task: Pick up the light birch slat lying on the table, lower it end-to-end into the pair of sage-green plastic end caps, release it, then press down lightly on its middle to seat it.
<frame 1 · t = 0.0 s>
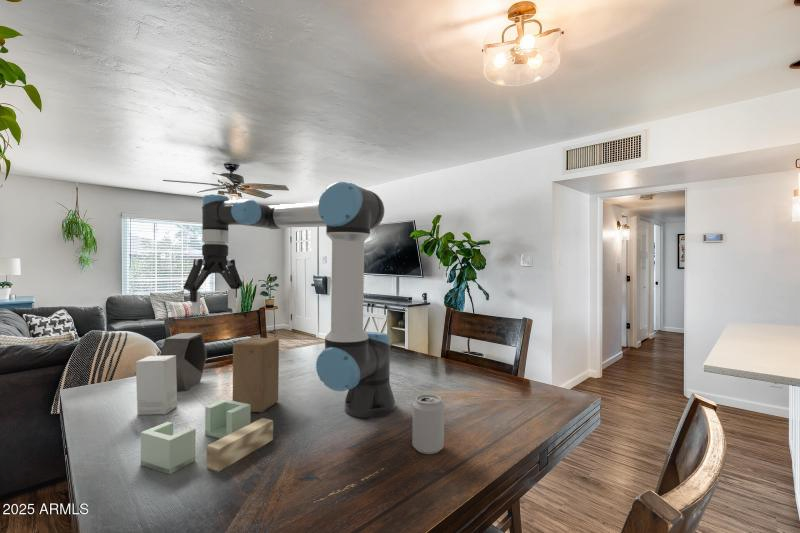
hand: (214, 310, 122), 28 cm above the table, fingers open, 13 cm apart
skincare box: (156, 411, 111), on the table
end caps: (200, 446, 90), on the table
planter: (183, 386, 134), on the table
slat: (242, 453, 88), on the table
can: (427, 448, 91), on the table
wooden block: (256, 406, 116), on the table
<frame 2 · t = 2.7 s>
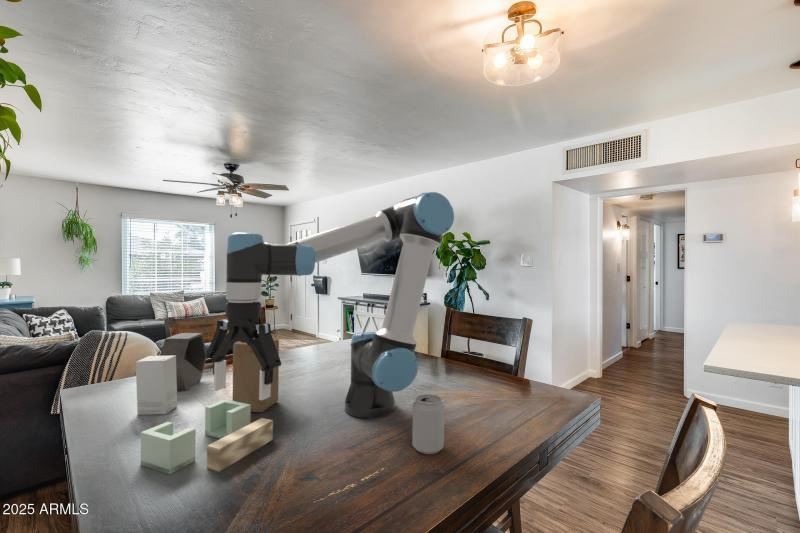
hand: (241, 393, 87), 14 cm above the table, fingers open, 13 cm apart
nothing on the table moved.
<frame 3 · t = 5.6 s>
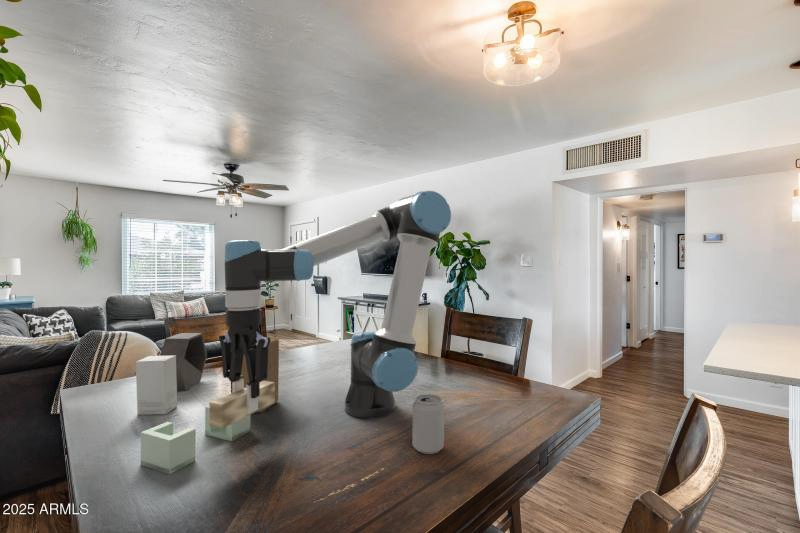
hand: (245, 409, 88), 10 cm above the table, fingers closed on slat, 3 cm apart
slat: (244, 413, 88), point 9 cm above the table, touching gripper
everything else where it was.
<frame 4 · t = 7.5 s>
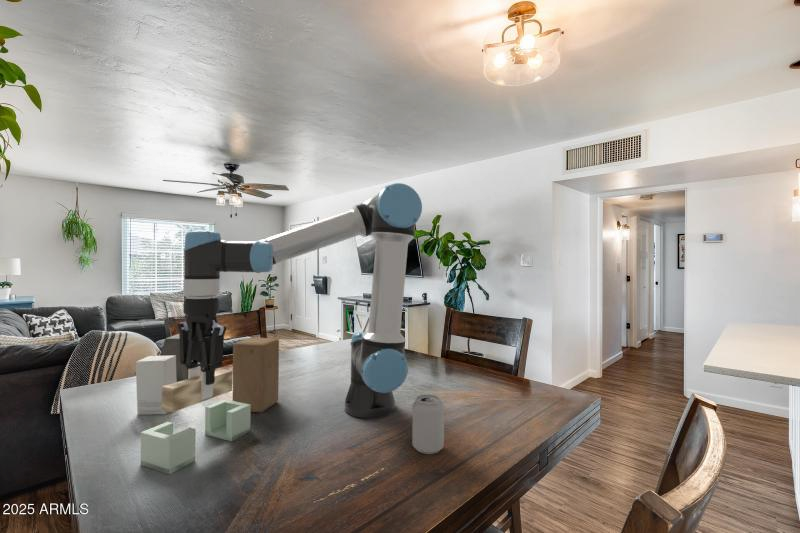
hand: (200, 396, 90), 12 cm above the table, fingers closed on slat, 3 cm apart
slat: (199, 399, 90), point 11 cm above the table, touching gripper
everything else where it was.
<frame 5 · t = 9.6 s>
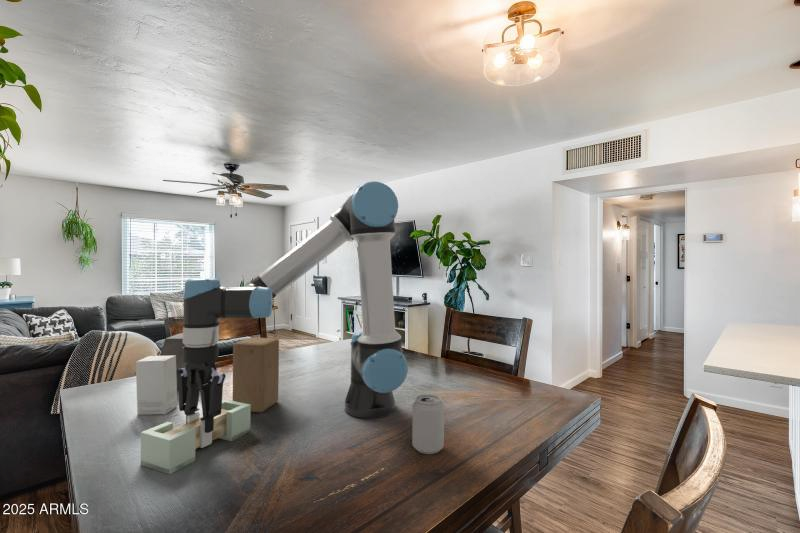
hand: (199, 443, 90), 1 cm above the table, fingers closed on slat, 4 cm apart
slat: (198, 442, 90), point 1 cm above the table, touching end caps, gripper
everything else where it was.
when the fingers open (1 cm above the table, at t = 9.6 s): slat stays where it is, resting on end caps.
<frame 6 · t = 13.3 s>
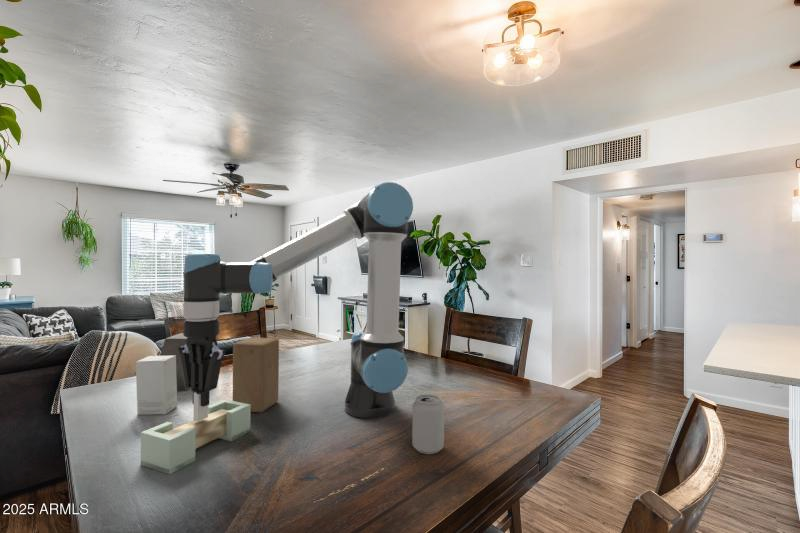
hand: (200, 418, 90), 7 cm above the table, fingers closed
slat: (198, 443, 90), point 1 cm above the table, touching end caps
everything else where it was.
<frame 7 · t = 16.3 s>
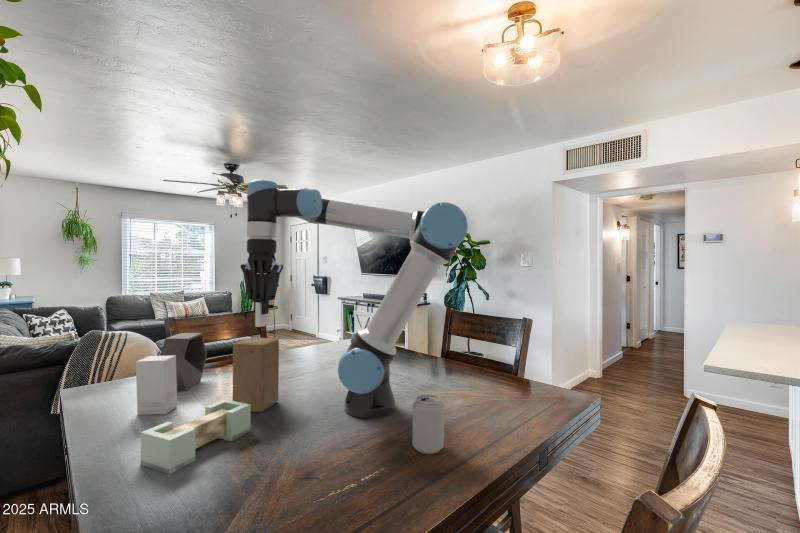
hand: (261, 326, 103), 26 cm above the table, fingers closed
nothing on the table moved.
at the end: slat 0.4 cm off-centre on the end caps, point 1.0 cm above the end caps's base; slat tilted 0°; the gripper is holding nothing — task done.
